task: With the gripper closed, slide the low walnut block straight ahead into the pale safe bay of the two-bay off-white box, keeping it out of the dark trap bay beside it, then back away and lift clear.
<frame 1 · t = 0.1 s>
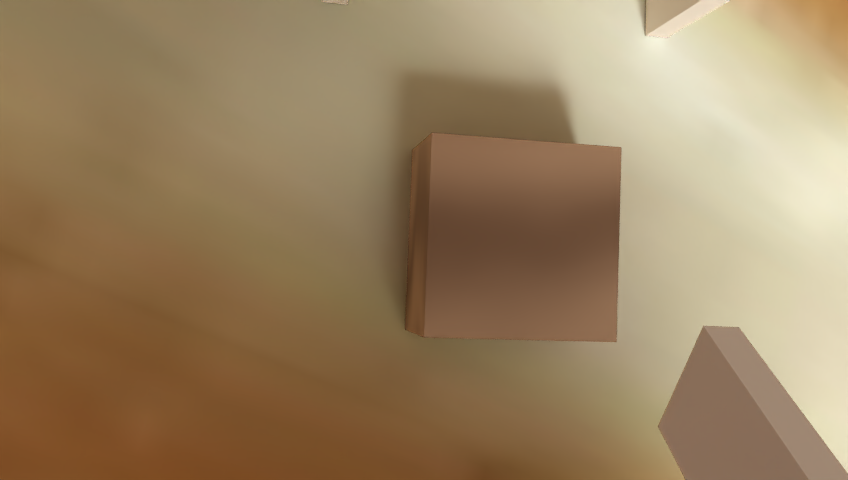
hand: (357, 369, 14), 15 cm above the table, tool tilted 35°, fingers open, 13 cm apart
walnut block: (493, 243, 31), on the table
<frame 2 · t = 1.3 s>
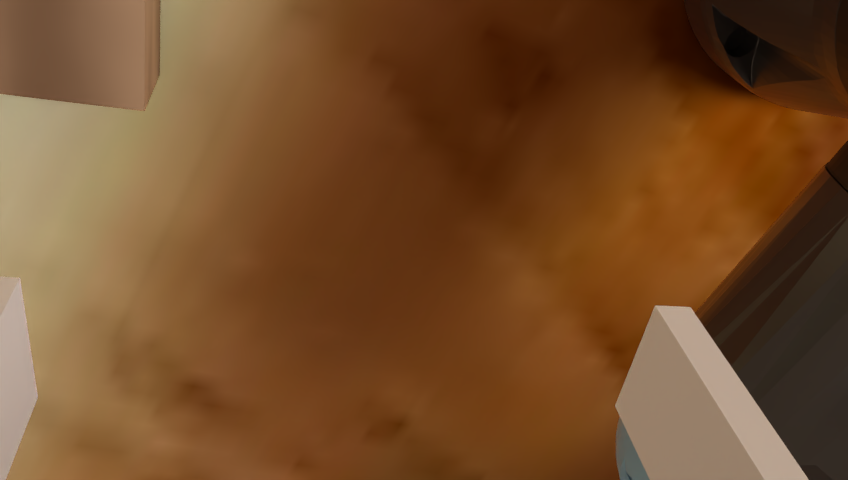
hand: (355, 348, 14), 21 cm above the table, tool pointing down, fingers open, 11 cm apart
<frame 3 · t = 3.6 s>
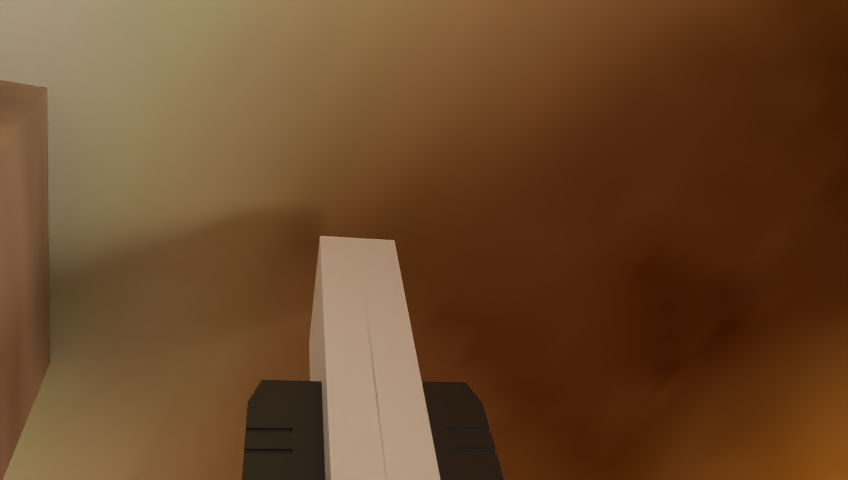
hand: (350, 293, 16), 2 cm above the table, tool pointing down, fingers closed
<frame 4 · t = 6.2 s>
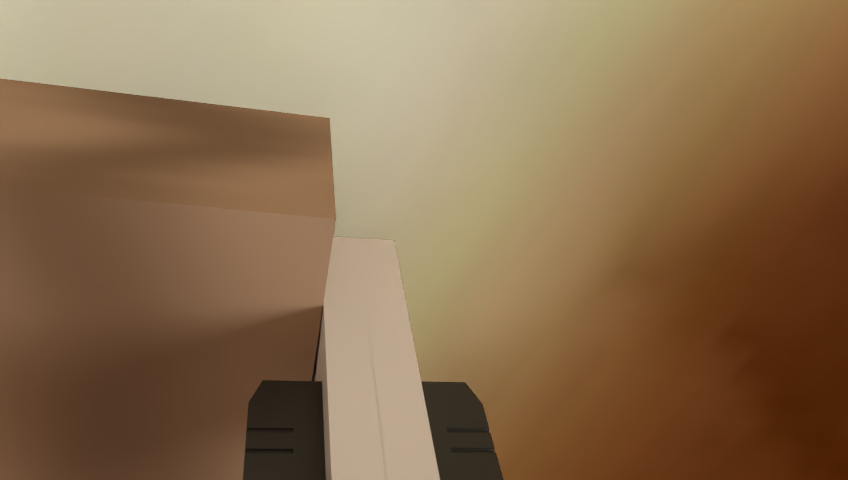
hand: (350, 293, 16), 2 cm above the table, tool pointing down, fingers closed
walnut block: (149, 243, 17), on the table, touching gripper
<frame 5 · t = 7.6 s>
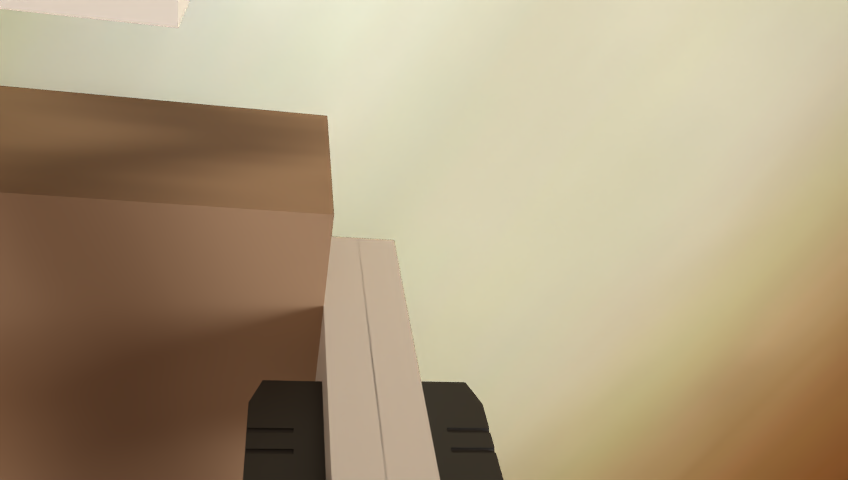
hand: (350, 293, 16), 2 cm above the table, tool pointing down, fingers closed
walnut block: (151, 246, 17), on the table, touching gripper
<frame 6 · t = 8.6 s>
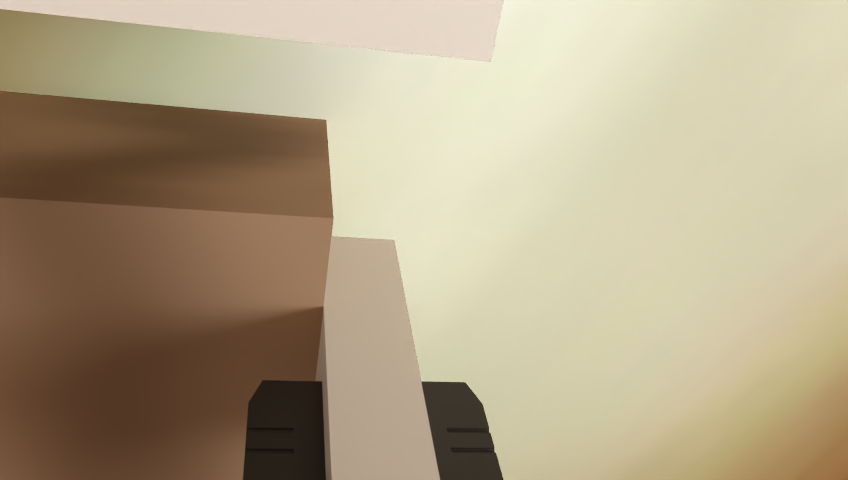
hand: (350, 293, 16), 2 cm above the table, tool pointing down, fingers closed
walnut block: (150, 248, 17), on the table, touching gripper
bay box: (128, 459, 20), on the table
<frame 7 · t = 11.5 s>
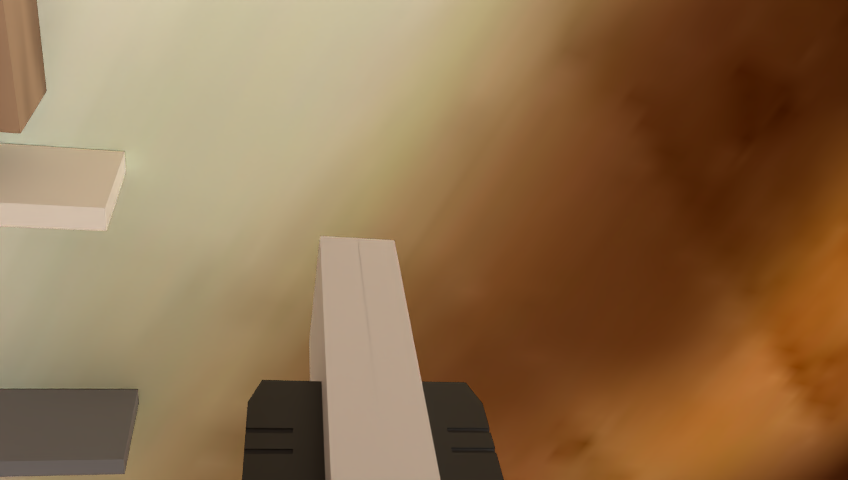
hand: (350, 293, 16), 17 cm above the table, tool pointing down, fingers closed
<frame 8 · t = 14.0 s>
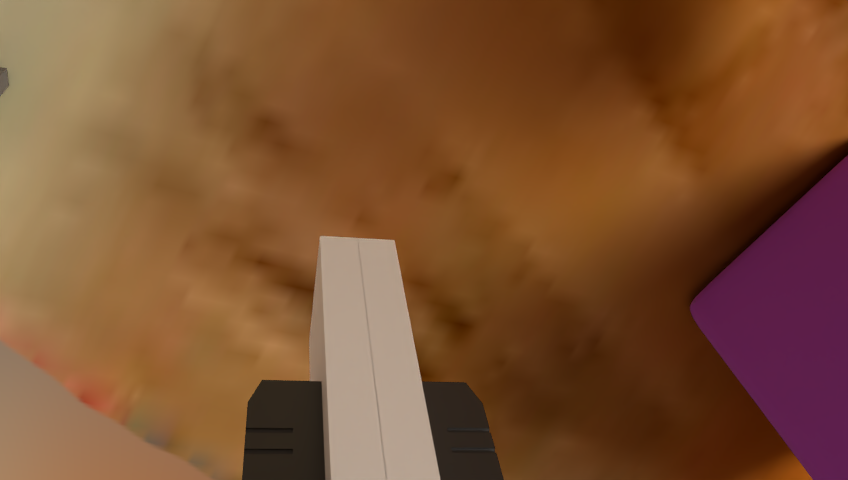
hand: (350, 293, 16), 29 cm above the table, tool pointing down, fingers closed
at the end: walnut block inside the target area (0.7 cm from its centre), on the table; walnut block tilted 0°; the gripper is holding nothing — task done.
